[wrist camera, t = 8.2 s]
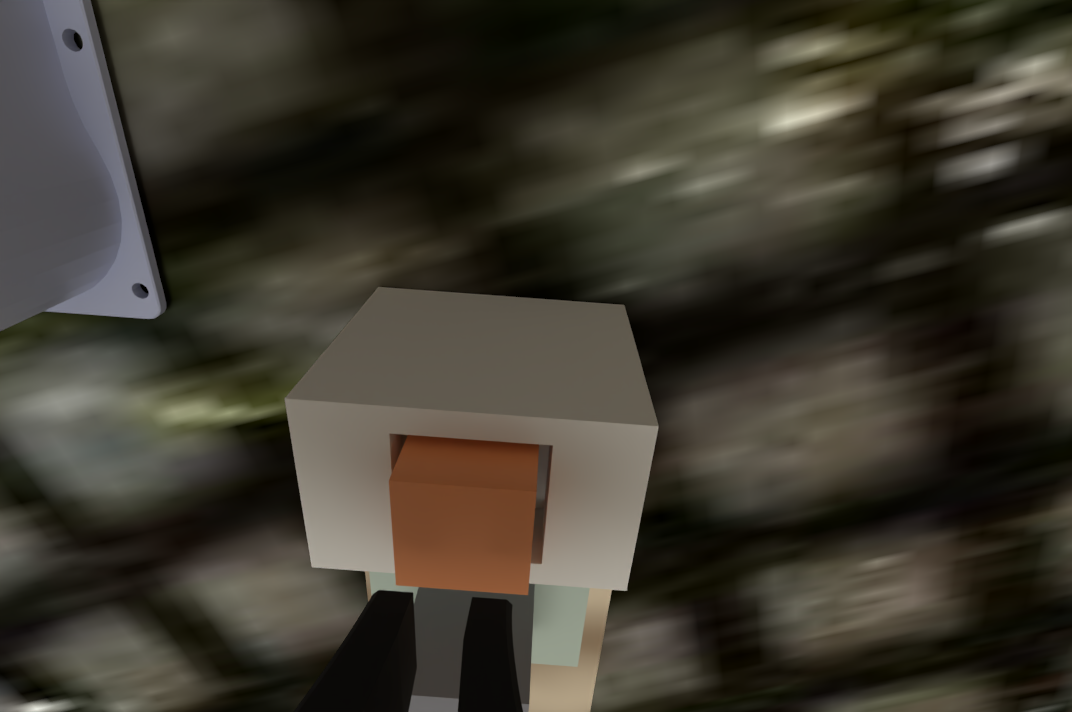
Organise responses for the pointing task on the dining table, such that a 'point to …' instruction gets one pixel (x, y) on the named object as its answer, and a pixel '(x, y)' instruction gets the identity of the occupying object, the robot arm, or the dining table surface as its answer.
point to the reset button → (464, 514)
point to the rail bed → (568, 689)
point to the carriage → (440, 620)
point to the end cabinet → (479, 422)
